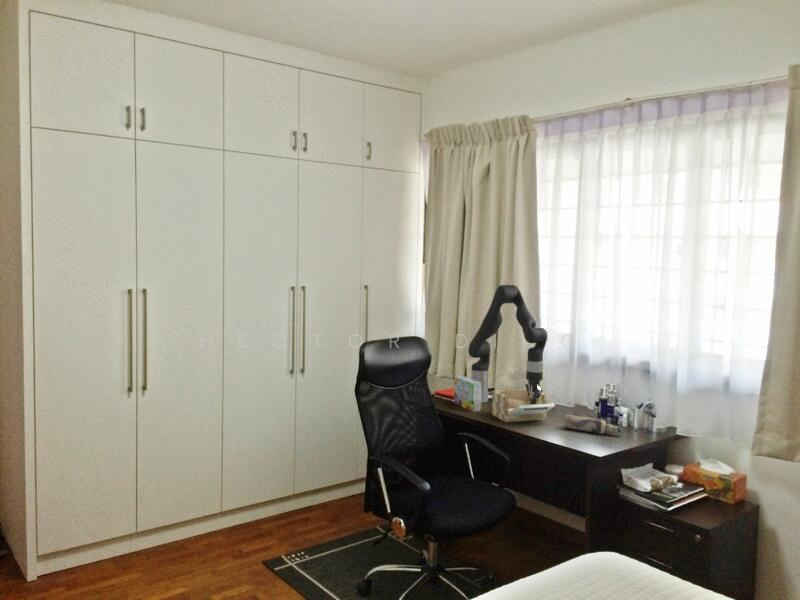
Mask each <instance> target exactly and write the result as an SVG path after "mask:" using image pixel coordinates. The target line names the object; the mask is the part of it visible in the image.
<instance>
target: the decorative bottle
mask: <svg viewBox="0 0 800 600" xmlns="http://www.w3.org/2000/svg"><path fill="white" fill-rule="evenodd" d="M563 425H564V428H565V429H569V430H574V431H575V430H576V431H581V432H587V433H593V434H597V435H605V434H608V433H609V434H610V433H622V432H623V429H622V427H619V426H618V425H614V424H611V423H607V422H606V420H605V419H600V418H599V419H598V418H593V417H587V416H581V415H573V414H570V413H569V414H566V415H565V417H564V424H563Z"/></svg>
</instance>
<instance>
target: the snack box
mask: <svg viewBox="0 0 800 600" xmlns="http://www.w3.org/2000/svg"><path fill="white" fill-rule="evenodd" d="M453 378H454V379H453V380H454V382H453V384H454V385H453V387H454V391H453V393H454V395H453V397H454V401H453V402H454V404H455V405H457V406H460V407H461V408H463V409H465V410H468V411H470V412H471V413H476V412H482V403H481V394H482V383H481V382H478V381H475V380H472V379H471V378H470V377H466V376H464V375H454V377H453Z"/></svg>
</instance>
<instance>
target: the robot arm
mask: <svg viewBox="0 0 800 600" xmlns="http://www.w3.org/2000/svg"><path fill="white" fill-rule="evenodd" d="M503 304H514V305H515V306H516V312H515V317H516V320H517V323H518V324H519V325H520V327H521V328H522V332H523V336H524V337H523V338H524V339H525V341H526V342H528V344H535V345H534V346H533V347H530V348H528V350H527V361H526V373H525V375H526V377H525V379H526V380H527V381H528V382H527V384H525V389H527V393H528V396H530V398H531V402H530V405H534V404H536V399H537V398H539V397H540V395H541V393H543V389H542V388H541V381H543V374H544V373H543V372H544V371H543V370H544V364H543V362H544V361H543V357H544V350H545V347H546V345H547V341H548V332H547V330H546V329H545V328H543V327H536V326H537V323H536V320H535V319H534V318H533V316H532V314H531V312H530V311H529V310H528V308H527V305H526V302H525V300H524V297H523V295H522V292H521V290H520V289H519V287H518V286H516V285H514V284H502V285H499V286H497V288H496V290H495V292H494V295H493V299H492V300H491V304H490V305H489V309H488V310H487V312H486V314H485V316H484V318H483V320H482V322H481V324H480V327H479V328H478V330H477V332H476V333H475V335H474V336H473V338H472V340H471V341H470V342H469V345H468V355H469V356H470V357H471V358H472V359H473V358H475V359H478V358H479V359H478V361H476V362H474V363H472V364H471V375H470V377H471V378H470V379H472V380H475V381H478V382H481V383H482V394H481V404H482V403H487V402H488V399H489V397H488V396H489V368H490V360H491V359H490V358H491V345H490V342H489V341H488V340H489V339H490V338H491V337H493V336H494V335H495V334H496V333H497V332H498V331H499V329H500V327H501V325H502V323H503V316H502V312H501V308H502V306H504V305H503Z"/></svg>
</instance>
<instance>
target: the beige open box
mask: <svg viewBox="0 0 800 600" xmlns="http://www.w3.org/2000/svg"><path fill="white" fill-rule="evenodd" d="M491 392H492V393H491V395H492V397H491V415H492V416H494V417H496V418H497V419H500V420H501V421H503V422H504V423H511V422H527V421H528V422H529V421H542V420H543V421H544V420H548V419H547V418H548V411H547V412H545V413H543V414H526V415H509V412H510V411H512V410H513V409H515V408H516V407H517V406H519V405H530V402H531V398H530V396H528V393H527V389H526V388H523V389H500V390H497V389H496V390H492V391H491ZM536 404H548V395H547V394H545V393H543V392H542V393H541V395H540V397H539V398H537V399H536Z"/></svg>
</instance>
